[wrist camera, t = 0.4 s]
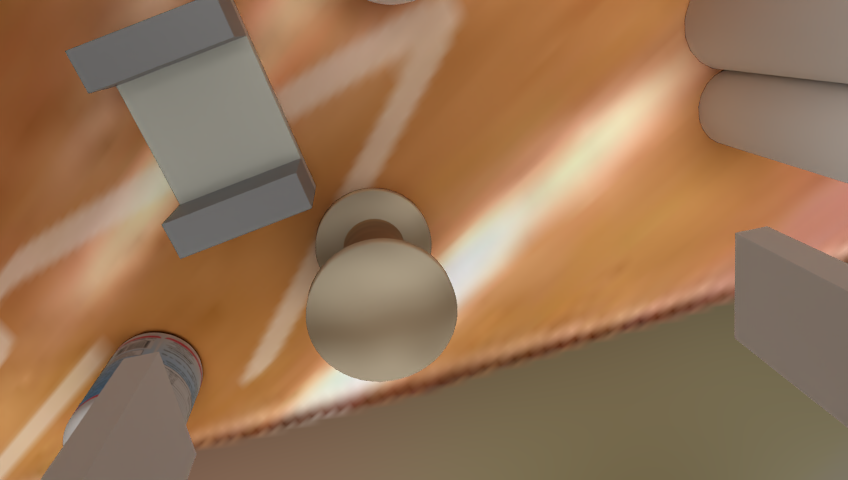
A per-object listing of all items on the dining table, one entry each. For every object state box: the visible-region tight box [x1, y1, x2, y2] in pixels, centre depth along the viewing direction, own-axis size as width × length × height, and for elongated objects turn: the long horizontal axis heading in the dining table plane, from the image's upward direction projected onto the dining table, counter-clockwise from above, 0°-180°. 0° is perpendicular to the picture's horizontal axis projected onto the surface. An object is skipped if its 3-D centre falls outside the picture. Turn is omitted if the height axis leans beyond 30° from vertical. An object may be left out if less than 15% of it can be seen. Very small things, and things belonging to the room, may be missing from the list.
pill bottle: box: [63, 333, 203, 446], centre depth 37 cm, size 6×6×11 cm
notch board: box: [65, 0, 316, 259], centre depth 35 cm, size 12×8×5 cm, turn 20°
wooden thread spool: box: [306, 188, 457, 382], centre depth 36 cm, size 8×8×11 cm
